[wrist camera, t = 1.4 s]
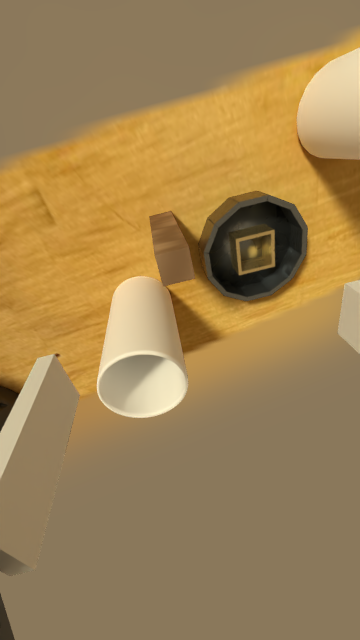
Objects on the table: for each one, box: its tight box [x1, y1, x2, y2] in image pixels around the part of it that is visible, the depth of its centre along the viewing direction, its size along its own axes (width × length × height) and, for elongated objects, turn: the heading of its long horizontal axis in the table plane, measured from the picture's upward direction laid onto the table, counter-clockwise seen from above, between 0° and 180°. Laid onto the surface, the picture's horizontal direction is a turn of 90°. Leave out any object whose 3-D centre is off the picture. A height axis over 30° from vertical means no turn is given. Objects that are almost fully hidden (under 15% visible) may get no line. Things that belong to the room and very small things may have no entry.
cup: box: [97, 276, 188, 418], centre depth 31 cm, size 8×8×16 cm
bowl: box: [198, 191, 308, 301], centre depth 33 cm, size 12×12×4 cm
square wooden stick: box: [149, 211, 195, 286], centre depth 26 cm, size 3×3×14 cm
